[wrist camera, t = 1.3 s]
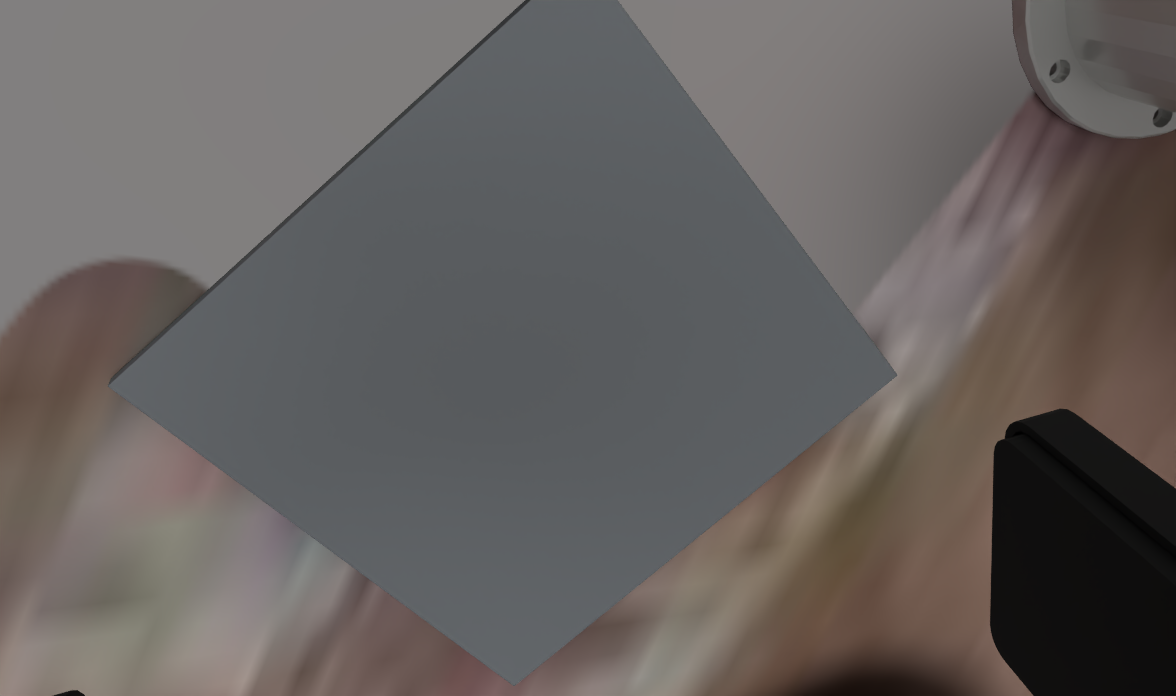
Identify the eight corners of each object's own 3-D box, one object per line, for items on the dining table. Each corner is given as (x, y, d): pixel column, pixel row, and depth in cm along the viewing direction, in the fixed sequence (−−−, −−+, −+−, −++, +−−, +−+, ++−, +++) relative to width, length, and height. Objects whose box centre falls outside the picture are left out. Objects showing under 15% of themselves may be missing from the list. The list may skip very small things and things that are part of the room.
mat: (578, -48, 33) (582, -47, 32) (890, 368, 43) (897, 375, 43) (110, 378, 35) (107, 386, 35) (511, 676, 46) (514, 686, 45)
